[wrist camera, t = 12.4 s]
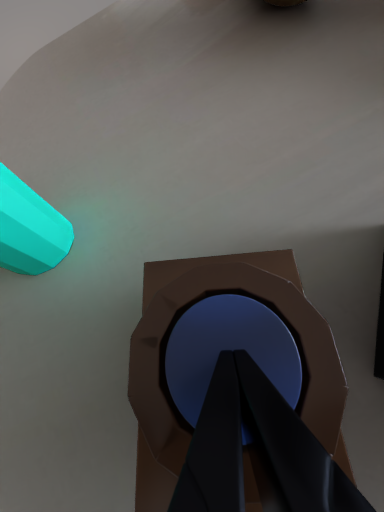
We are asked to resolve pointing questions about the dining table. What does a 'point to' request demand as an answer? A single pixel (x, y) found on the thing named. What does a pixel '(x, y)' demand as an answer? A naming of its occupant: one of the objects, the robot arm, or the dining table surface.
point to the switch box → (380, 334)
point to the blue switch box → (154, 350)
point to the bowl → (285, 2)
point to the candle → (29, 228)
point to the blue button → (228, 338)
